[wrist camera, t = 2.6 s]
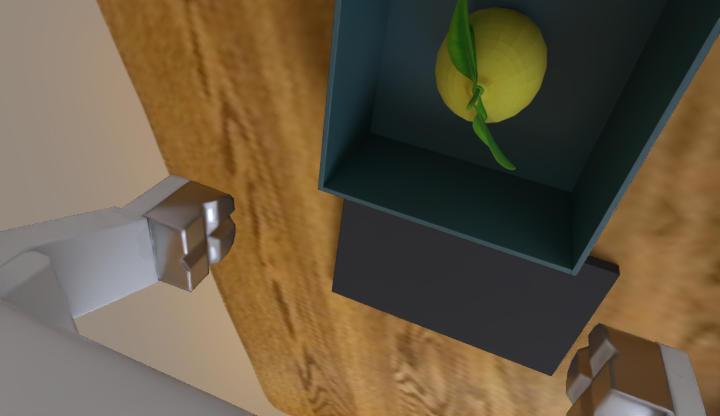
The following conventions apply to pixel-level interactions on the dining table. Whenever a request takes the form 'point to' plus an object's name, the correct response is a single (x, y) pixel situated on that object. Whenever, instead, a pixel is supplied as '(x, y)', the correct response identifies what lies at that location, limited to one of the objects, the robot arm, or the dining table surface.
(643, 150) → the box
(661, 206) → the dining table surface
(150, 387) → the robot arm
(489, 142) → the lemon
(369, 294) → the mat
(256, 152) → the dining table surface
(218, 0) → the dining table surface
